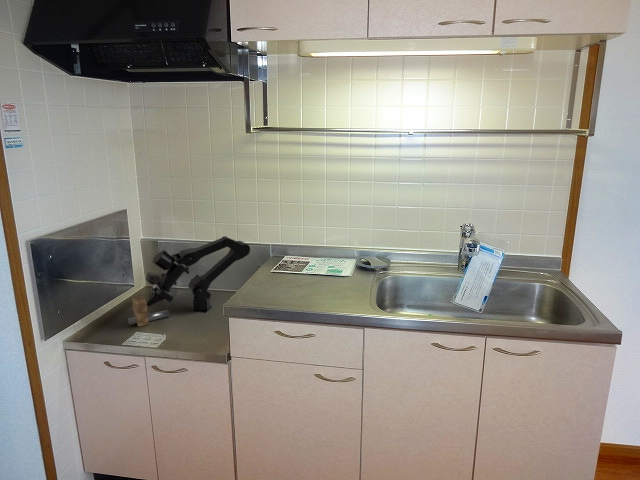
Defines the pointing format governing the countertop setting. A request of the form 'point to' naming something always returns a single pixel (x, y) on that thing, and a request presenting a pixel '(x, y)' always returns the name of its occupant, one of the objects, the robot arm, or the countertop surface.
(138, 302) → the rectangular wooden block
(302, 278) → the countertop surface
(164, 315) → the steel pipe
